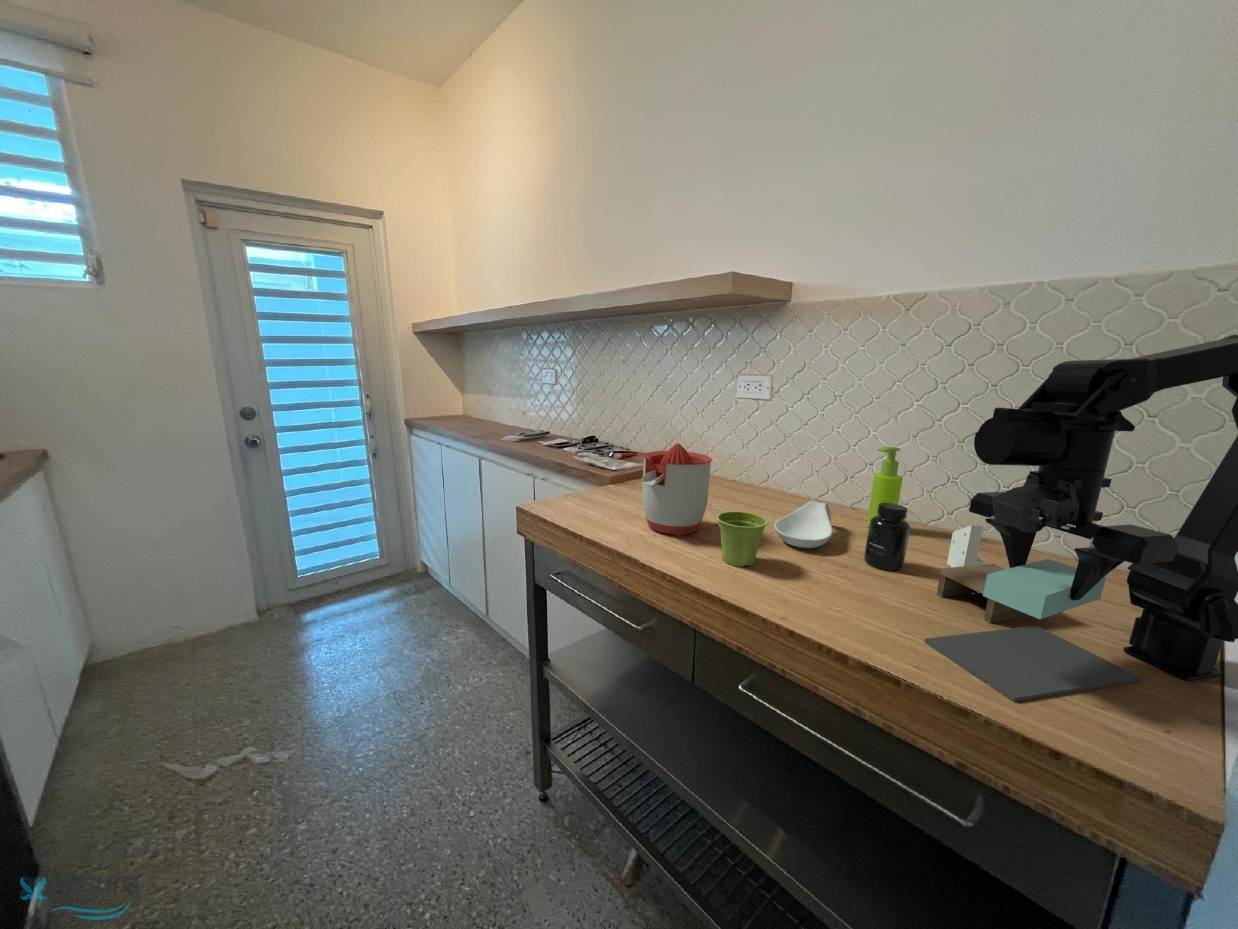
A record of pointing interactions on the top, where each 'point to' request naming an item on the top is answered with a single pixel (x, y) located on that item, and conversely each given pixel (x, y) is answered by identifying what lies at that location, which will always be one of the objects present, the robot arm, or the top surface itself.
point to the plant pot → (740, 536)
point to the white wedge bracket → (965, 547)
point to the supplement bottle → (887, 538)
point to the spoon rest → (806, 526)
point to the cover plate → (1038, 588)
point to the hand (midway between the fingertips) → (1043, 586)
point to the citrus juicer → (675, 489)
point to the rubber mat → (1030, 662)
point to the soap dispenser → (885, 483)
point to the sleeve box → (976, 590)
